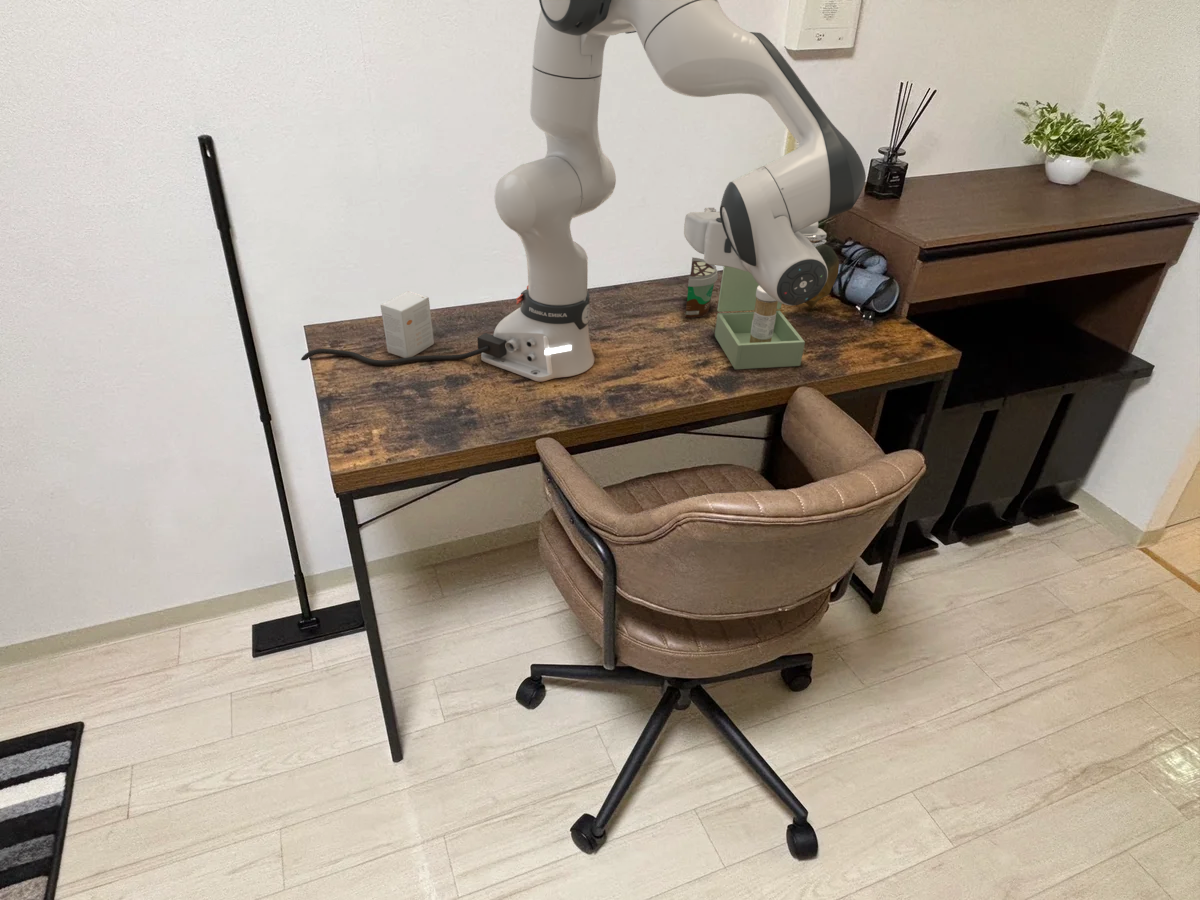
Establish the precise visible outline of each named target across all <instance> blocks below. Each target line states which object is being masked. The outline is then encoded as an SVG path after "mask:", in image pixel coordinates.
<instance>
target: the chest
mask: <svg viewBox="0 0 1200 900" xmlns="http://www.w3.org/2000/svg"><path fill="white" fill-rule="evenodd" d="M753 315H754V311H733V312H718V313H716V323H715V329H714V338H715V339H716V341H717V342H718V344H719V345H720V348H721V349H722V351H723V353H724V354H725V356H726V357H727V359H728V361H729V363H730V364H731V366H732V368H733V369H734V370H748V369H767V368H786V367H788V368H789V367H800V366H801V364H802V360H803V354H804V350H805V344H806V341H805V340H804V339H803V338H802V336H801V335H800V334H799V332H798V331H797V330H796V328H795V327H794V326H793V325H792V324H791V322H790V321H789V320H788V319H787V318H786V316H785V314H783V313H782V311H781V309H777V310H776V318H775V324H774V330H773V336H772V339H771V342H758V343H750V336H751V327H752V320H753Z"/></svg>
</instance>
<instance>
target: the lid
mask: <svg viewBox="0 0 1200 900" xmlns="http://www.w3.org/2000/svg"><path fill="white" fill-rule="evenodd" d="M758 286H759V284H758V283H757V282H756V281H755V279H754V277H753V275H752V274H751V273H749V272H747V271H743V270H740V269H736V268H732V267H726V266H722V275H721V282H720V289H719V296H718V301H717V312H718V313H727V312H750V311H754V309H755V303H756V290H757V287H758ZM782 305H783V304H782V303H780V302H778V304H777V310H781V309H782Z"/></svg>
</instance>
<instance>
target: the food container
mask: <svg viewBox="0 0 1200 900" xmlns="http://www.w3.org/2000/svg"><path fill="white" fill-rule="evenodd" d="M718 279H719V273H718V269H717V265H710V264H707V263H706V262H705V261H704V258H701V257H691V267H690V274H689V276H688V284H687V293H686V305H685V315H684V316H685V318H687V319H694V318H695V319H696V318H702V317H704V316H706V315H708V313H709V311H710V307H711V301H712V295H713V291H714V286H715V283H716V282H717V281H718Z"/></svg>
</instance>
